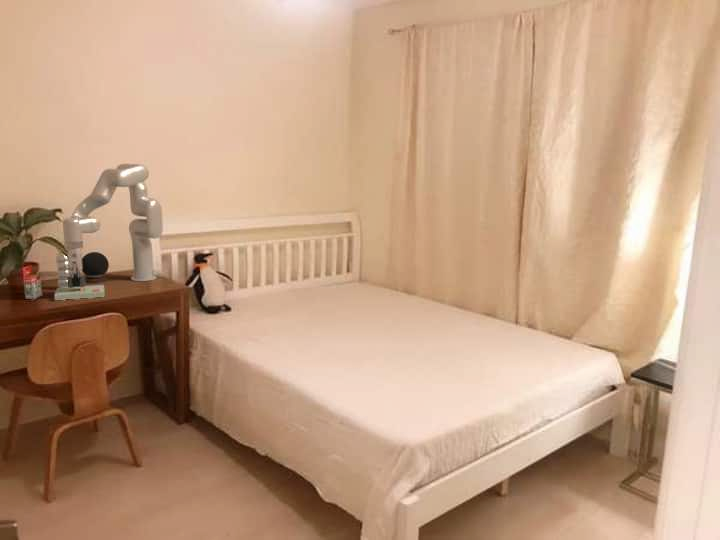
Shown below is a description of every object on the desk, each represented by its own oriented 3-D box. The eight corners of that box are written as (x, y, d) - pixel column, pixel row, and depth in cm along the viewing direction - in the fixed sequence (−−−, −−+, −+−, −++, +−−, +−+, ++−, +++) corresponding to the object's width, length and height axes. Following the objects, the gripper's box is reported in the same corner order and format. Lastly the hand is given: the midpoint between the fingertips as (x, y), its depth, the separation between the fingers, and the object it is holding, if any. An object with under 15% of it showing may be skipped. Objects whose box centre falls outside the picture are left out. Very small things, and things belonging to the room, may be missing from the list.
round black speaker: (82, 279, 290) (79, 250, 287) (110, 277, 296) (108, 249, 292) (80, 284, 279) (78, 255, 276) (109, 282, 284) (107, 253, 281)
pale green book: (104, 289, 270) (103, 283, 269) (104, 297, 256) (103, 290, 255) (57, 293, 261) (56, 286, 261) (54, 301, 248) (54, 293, 247)
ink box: (42, 295, 257) (39, 264, 254) (33, 300, 249) (30, 268, 246) (34, 295, 257) (31, 264, 254) (25, 300, 249) (21, 267, 246)
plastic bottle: (74, 286, 274) (70, 246, 270) (72, 289, 268) (68, 248, 264) (59, 287, 272) (55, 246, 268) (57, 290, 266) (53, 249, 262)
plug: (85, 288, 261) (84, 273, 260) (85, 290, 257) (84, 275, 255) (69, 289, 258) (67, 274, 257) (68, 291, 254) (67, 276, 253)
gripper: (82, 247, 247) (85, 287, 251) (83, 242, 263) (86, 280, 266) (63, 248, 244) (66, 289, 248) (65, 242, 260) (68, 281, 263)
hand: (76, 284), depth 257 cm, fingers closed on plug, 5 cm apart
